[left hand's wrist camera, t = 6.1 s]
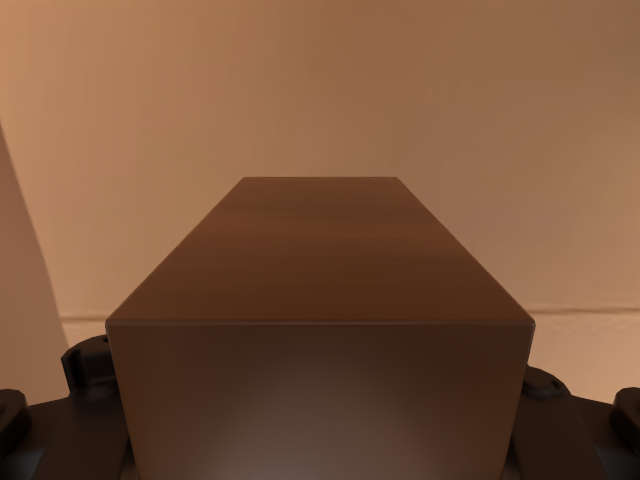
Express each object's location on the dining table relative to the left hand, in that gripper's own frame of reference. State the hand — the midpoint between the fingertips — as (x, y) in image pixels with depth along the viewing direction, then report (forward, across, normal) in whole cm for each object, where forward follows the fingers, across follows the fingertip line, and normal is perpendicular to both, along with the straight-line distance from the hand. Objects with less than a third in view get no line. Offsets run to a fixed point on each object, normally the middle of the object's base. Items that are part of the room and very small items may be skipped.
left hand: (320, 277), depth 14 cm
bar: (+1, 0, -8) cm, 8 cm away
